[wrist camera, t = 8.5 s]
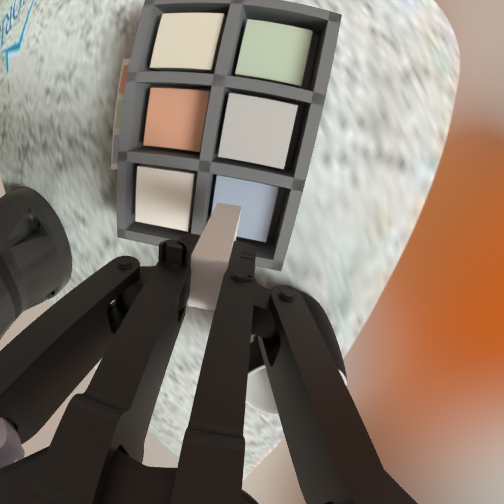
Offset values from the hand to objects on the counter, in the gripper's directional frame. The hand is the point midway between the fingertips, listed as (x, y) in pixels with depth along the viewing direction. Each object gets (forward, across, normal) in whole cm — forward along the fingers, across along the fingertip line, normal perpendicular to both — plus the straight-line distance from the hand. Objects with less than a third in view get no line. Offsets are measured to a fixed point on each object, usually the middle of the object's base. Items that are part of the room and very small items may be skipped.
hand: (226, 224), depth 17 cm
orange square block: (+6, -5, +6) cm, 10 cm away
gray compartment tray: (+7, -4, +6) cm, 10 cm away
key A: (+5, +1, 0) cm, 5 cm away
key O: (+5, -5, 0) cm, 7 cm away
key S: (+5, -5, +12) cm, 14 cm away
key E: (+6, +1, +12) cm, 13 cm away
